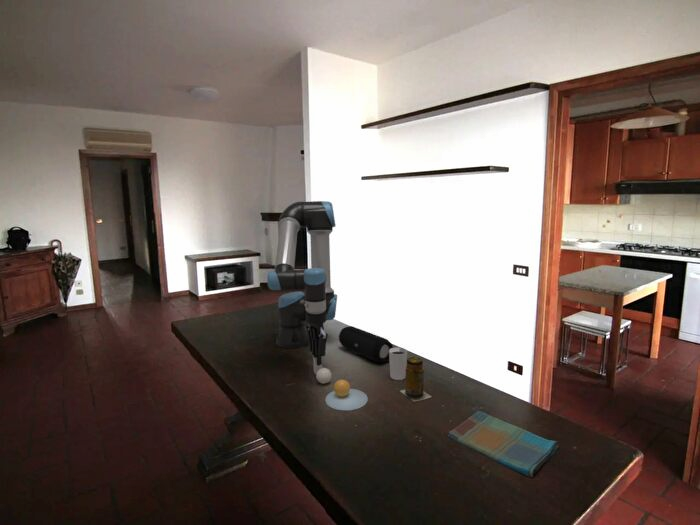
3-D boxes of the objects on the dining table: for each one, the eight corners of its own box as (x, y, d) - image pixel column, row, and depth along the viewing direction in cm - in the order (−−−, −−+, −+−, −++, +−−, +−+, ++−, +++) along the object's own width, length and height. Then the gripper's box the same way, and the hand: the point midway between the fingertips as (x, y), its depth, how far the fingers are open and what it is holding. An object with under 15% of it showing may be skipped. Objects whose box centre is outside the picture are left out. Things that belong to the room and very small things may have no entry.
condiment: (417, 386, 138) (417, 354, 136) (432, 397, 130) (432, 363, 128) (399, 391, 134) (399, 358, 132) (413, 402, 127) (414, 367, 125)
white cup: (409, 374, 147) (409, 348, 145) (403, 381, 141) (404, 355, 140) (392, 371, 150) (392, 346, 148) (386, 378, 144) (386, 352, 142)
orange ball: (344, 374, 131) (351, 388, 128) (346, 379, 136) (353, 393, 133) (329, 382, 131) (336, 397, 128) (332, 387, 135) (339, 401, 132)
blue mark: (338, 385, 139) (338, 385, 139) (374, 394, 133) (374, 393, 133) (317, 404, 127) (317, 403, 127) (356, 414, 120) (355, 414, 120)
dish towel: (532, 482, 92) (532, 472, 91) (446, 439, 109) (446, 430, 108) (559, 449, 103) (560, 440, 103) (477, 415, 120) (478, 407, 120)
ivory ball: (329, 369, 138) (331, 384, 138) (330, 364, 144) (333, 379, 144) (313, 371, 139) (316, 387, 138) (315, 367, 144) (318, 382, 144)
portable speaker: (337, 349, 173) (336, 327, 171) (354, 343, 179) (354, 322, 178) (377, 367, 154) (377, 343, 152) (395, 360, 160) (395, 337, 158)
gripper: (298, 308, 146) (301, 368, 150) (314, 317, 135) (317, 381, 139) (316, 305, 150) (318, 363, 153) (333, 313, 139) (335, 376, 143)
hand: (317, 372), depth 146 cm, fingers closed
